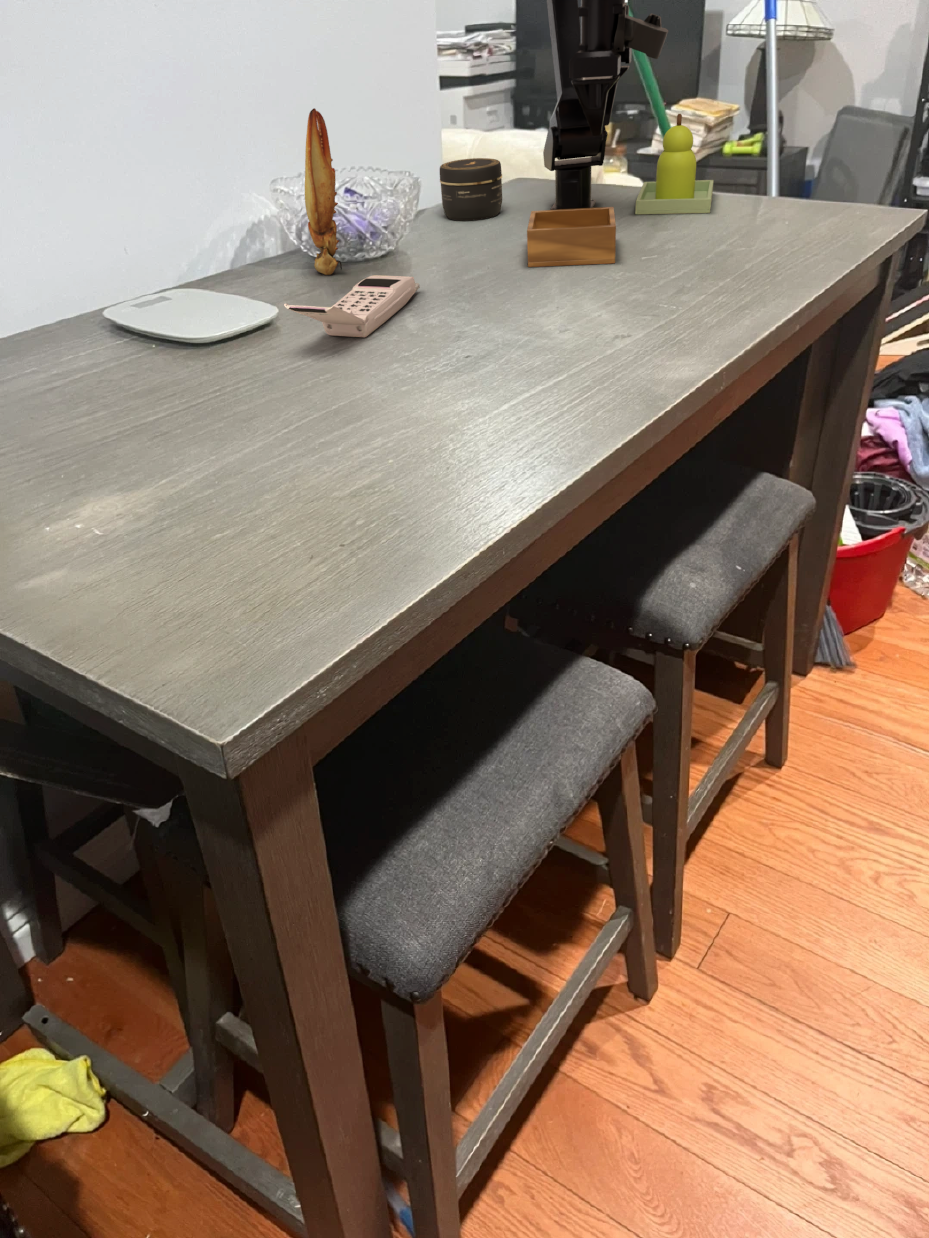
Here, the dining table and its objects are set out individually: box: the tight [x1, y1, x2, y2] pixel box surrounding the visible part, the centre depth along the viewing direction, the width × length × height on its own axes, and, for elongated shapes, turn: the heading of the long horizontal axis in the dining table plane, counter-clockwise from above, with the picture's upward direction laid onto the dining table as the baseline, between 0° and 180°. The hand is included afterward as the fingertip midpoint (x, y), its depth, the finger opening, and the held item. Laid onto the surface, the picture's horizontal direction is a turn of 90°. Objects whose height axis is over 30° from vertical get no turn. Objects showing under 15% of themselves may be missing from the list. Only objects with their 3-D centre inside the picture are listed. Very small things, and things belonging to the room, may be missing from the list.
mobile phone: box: [283, 274, 421, 338], centre depth 103 cm, size 6×6×25 cm
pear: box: [655, 113, 697, 199], centre depth 140 cm, size 6×6×12 cm
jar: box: [439, 157, 503, 222], centre depth 146 cm, size 10×10×8 cm
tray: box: [634, 179, 715, 215], centre depth 144 cm, size 14×11×2 cm
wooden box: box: [526, 206, 617, 268], centre depth 122 cm, size 11×11×5 cm
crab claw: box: [304, 108, 343, 276], centre depth 118 cm, size 7×5×20 cm
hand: (601, 130), depth 127 cm, fingers open, 9 cm apart
